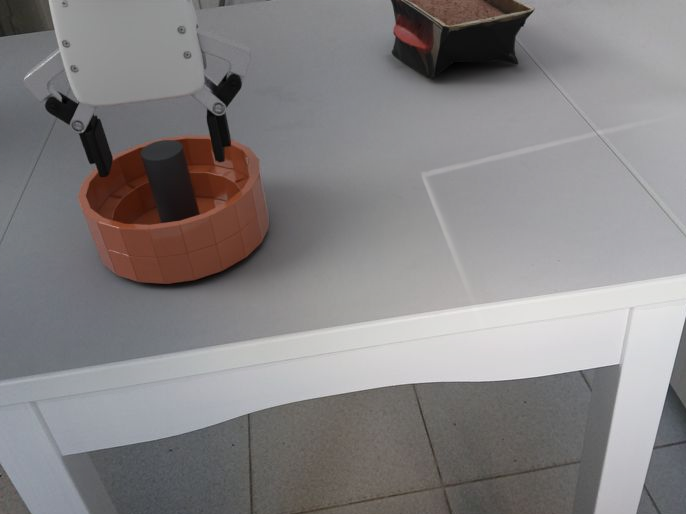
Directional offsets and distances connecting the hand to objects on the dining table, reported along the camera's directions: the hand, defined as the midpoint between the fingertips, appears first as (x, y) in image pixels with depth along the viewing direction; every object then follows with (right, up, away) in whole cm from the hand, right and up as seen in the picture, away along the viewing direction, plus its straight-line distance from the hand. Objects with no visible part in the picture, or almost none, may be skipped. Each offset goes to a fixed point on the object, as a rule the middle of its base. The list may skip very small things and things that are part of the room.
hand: (164, 161), depth 61 cm
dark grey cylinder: (+1, -5, +5) cm, 7 cm away
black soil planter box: (+29, +20, +30) cm, 46 cm away
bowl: (+1, -5, +5) cm, 7 cm away
